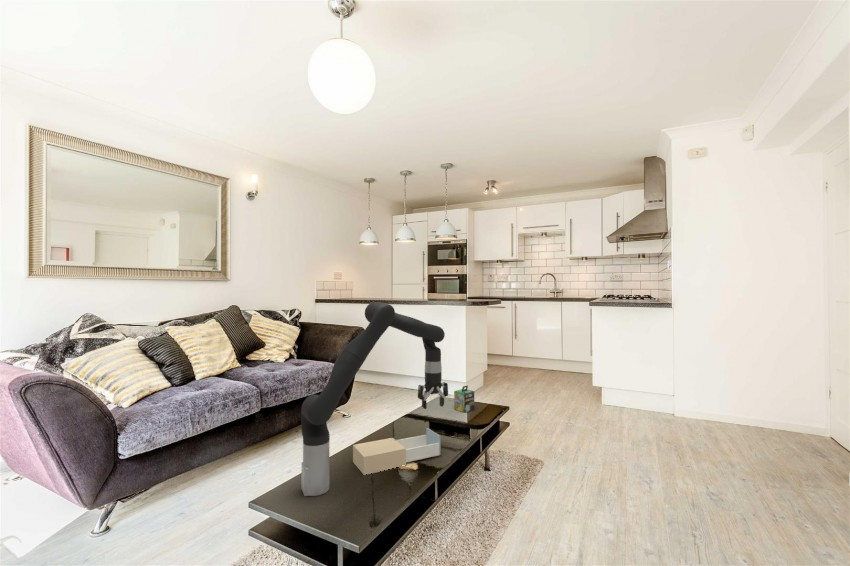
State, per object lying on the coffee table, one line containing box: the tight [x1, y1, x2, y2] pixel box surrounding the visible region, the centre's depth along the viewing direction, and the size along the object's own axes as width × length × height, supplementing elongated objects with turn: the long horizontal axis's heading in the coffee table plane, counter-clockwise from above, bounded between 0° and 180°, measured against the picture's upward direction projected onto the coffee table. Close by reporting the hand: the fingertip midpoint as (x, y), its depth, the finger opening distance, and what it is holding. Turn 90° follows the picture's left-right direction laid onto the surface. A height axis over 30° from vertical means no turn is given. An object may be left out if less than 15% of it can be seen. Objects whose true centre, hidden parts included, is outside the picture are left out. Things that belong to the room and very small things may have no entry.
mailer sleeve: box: [352, 437, 407, 476], centre depth 163 cm, size 18×14×7 cm
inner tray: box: [395, 427, 442, 463], centre depth 169 cm, size 25×12×8 cm, turn 118°
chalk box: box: [453, 384, 475, 413], centre depth 240 cm, size 9×9×15 cm
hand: (433, 407), depth 176 cm, fingers open, 8 cm apart
